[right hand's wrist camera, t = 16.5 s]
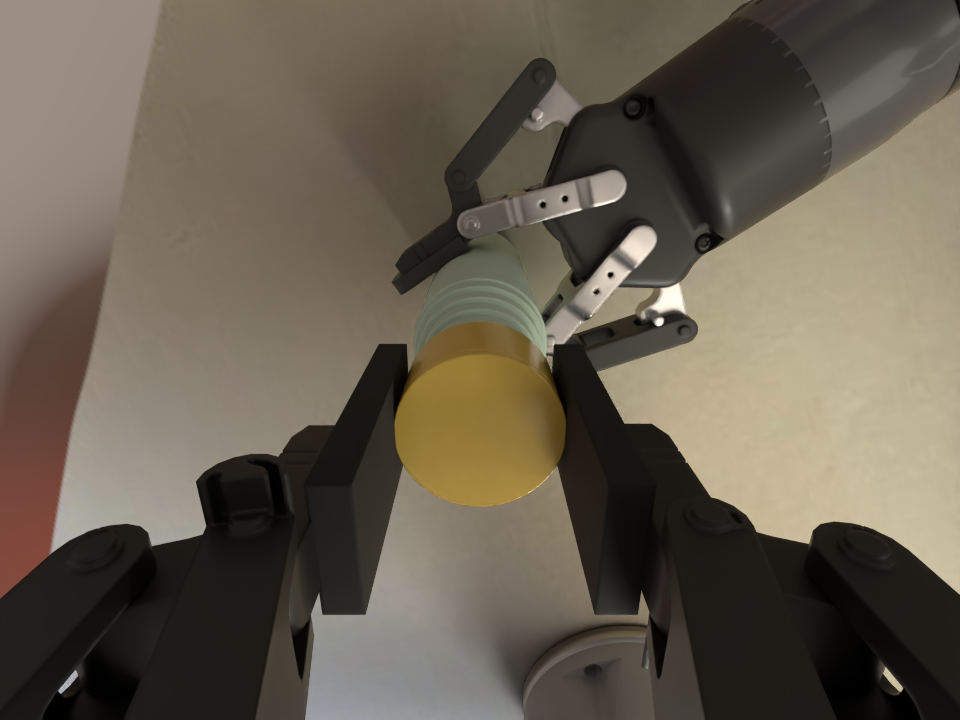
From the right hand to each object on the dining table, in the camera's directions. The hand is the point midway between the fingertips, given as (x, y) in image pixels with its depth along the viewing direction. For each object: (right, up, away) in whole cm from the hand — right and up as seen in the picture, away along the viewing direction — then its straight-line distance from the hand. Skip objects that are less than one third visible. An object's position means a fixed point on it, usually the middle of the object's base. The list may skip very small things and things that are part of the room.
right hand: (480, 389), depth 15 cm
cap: (0, -1, -2) cm, 2 cm away
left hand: (-2, +2, +10) cm, 10 cm away
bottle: (0, +6, +15) cm, 17 cm away
